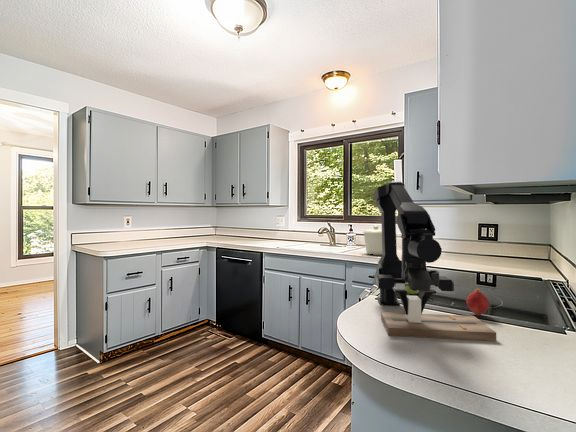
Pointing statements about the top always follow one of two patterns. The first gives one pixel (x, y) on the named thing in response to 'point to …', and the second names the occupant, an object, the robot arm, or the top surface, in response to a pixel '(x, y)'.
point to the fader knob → (414, 309)
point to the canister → (373, 240)
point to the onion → (477, 302)
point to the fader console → (438, 327)
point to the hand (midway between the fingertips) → (413, 314)
